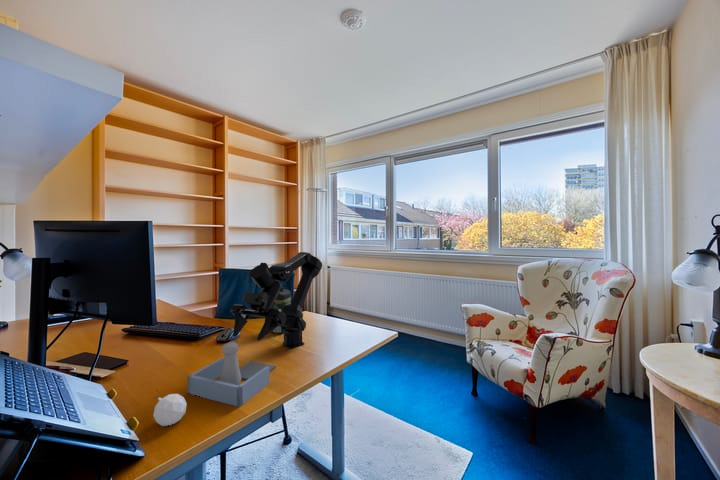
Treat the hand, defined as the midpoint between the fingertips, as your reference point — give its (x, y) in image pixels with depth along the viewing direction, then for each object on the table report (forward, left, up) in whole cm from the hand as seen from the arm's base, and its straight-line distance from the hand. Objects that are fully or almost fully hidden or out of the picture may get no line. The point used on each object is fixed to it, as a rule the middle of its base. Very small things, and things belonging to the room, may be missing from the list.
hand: (245, 338), depth 91 cm
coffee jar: (-28, -31, -12) cm, 44 cm away
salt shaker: (+6, +3, -12) cm, 14 cm away
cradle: (+6, +3, -12) cm, 14 cm away
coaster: (-3, -2, -12) cm, 13 cm away
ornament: (+22, +9, -12) cm, 27 cm away
